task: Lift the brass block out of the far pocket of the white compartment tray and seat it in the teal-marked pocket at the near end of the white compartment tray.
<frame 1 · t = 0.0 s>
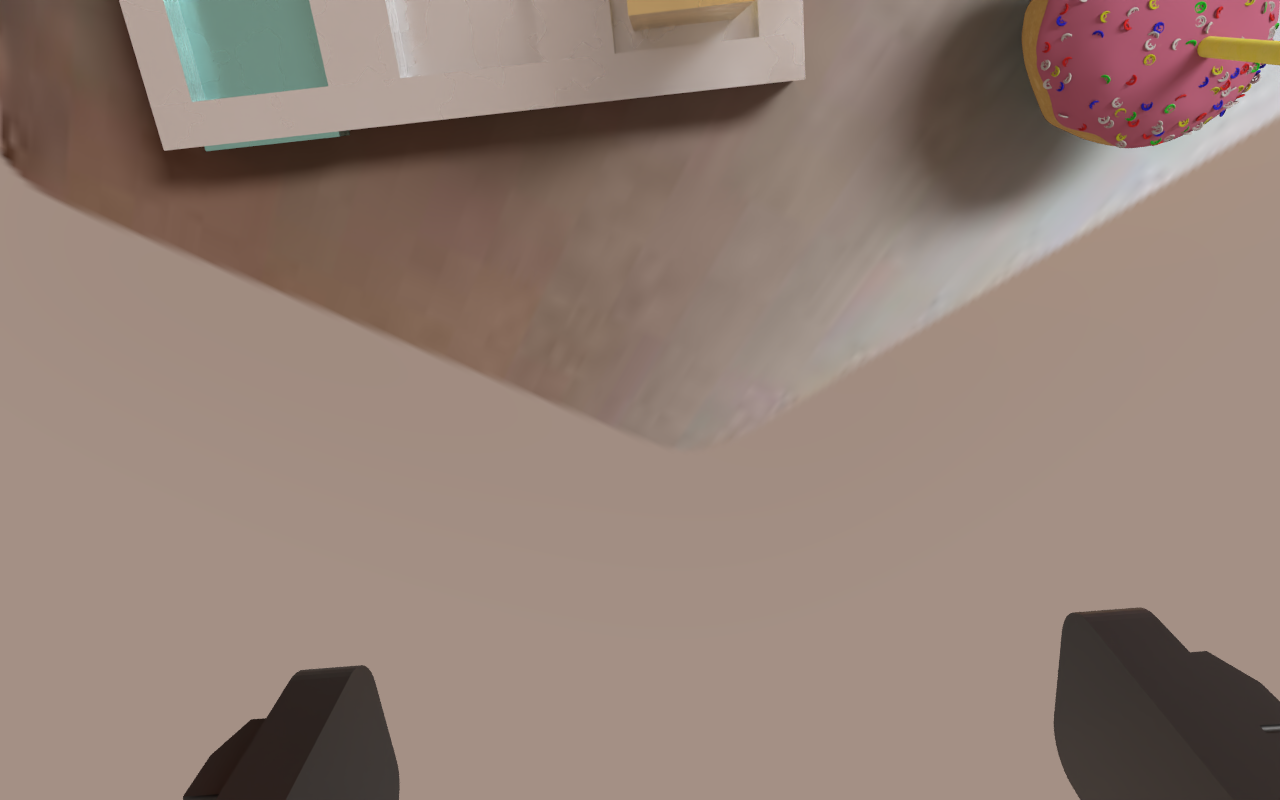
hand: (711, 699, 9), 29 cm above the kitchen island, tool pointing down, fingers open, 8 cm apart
cupcake: (1083, 34, 34), on the kitchen island
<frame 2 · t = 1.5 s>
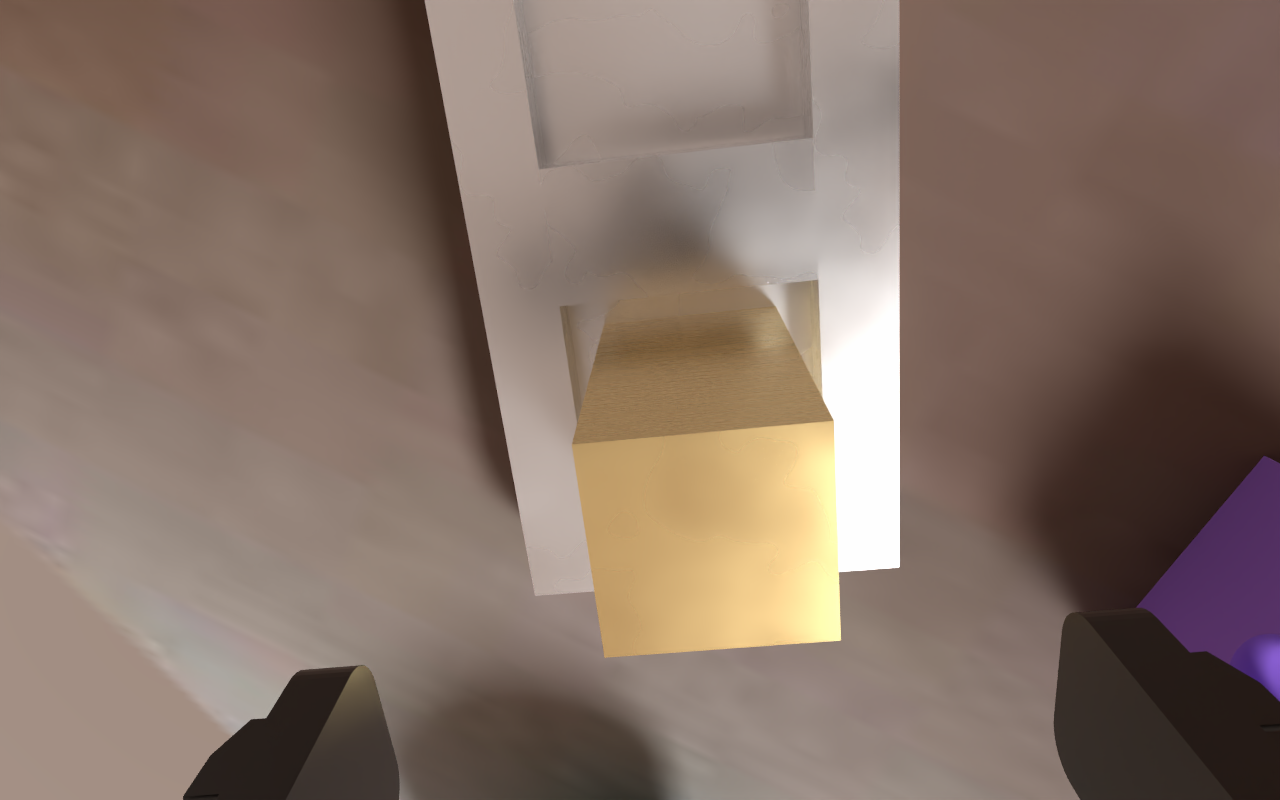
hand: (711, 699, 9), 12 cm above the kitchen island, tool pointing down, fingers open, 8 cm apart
brass block: (696, 394, 20), point 1 cm above the kitchen island, touching white compartment tray
white compartment tray: (661, 14, 18), on the kitchen island
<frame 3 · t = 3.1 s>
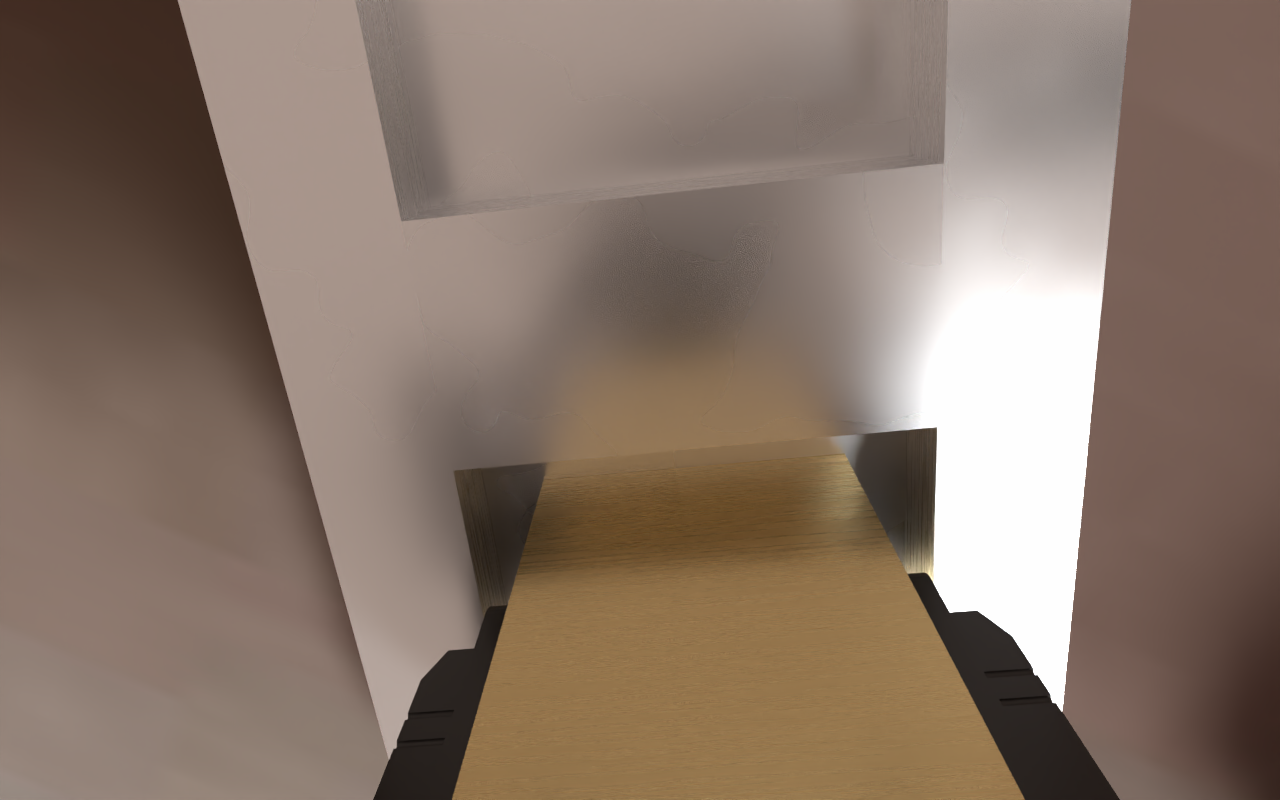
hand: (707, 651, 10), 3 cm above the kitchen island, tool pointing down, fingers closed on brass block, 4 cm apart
brass block: (704, 594, 11), point 2 cm above the kitchen island, touching gripper, white compartment tray
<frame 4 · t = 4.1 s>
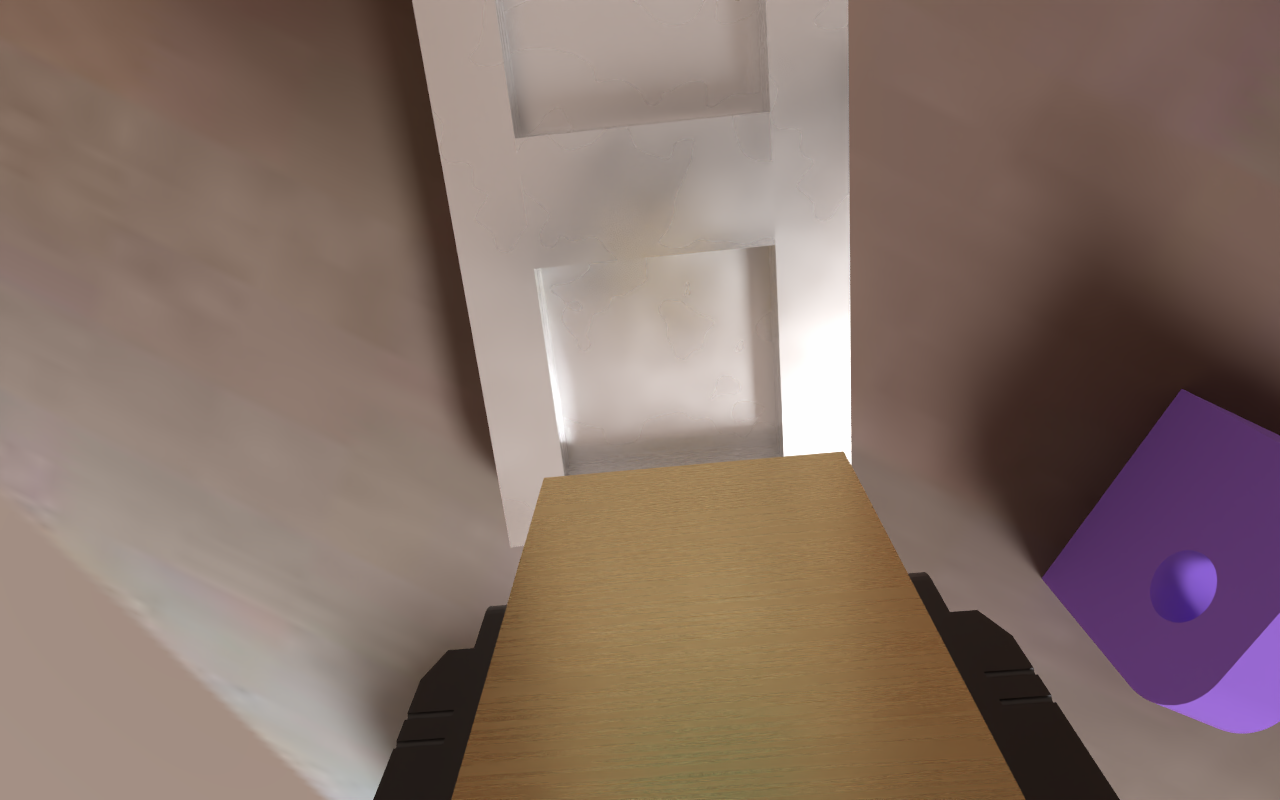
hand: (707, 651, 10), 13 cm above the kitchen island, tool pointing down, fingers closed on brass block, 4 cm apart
brass block: (703, 591, 12), point 12 cm above the kitchen island, touching gripper
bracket: (1257, 551, 25), on the kitchen island
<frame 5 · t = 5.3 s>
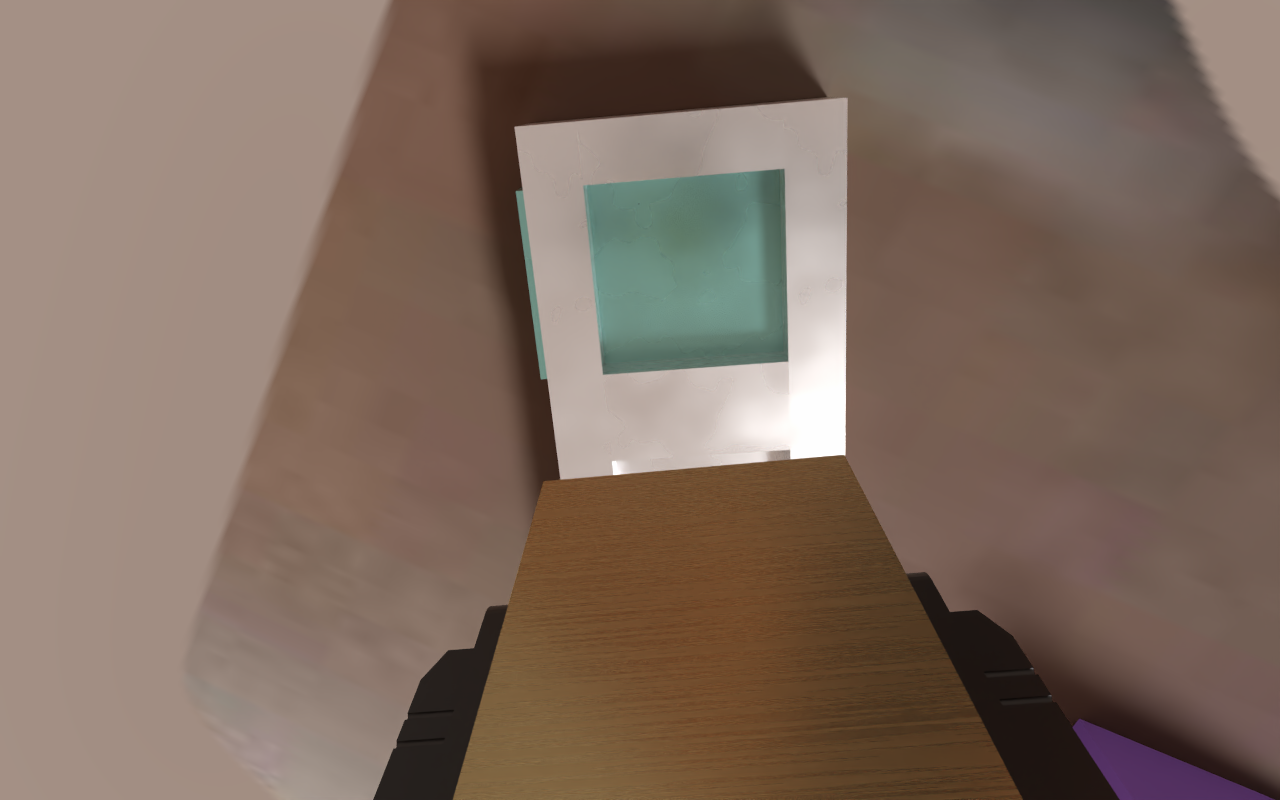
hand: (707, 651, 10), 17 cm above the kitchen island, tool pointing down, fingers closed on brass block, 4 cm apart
brass block: (704, 595, 11), point 16 cm above the kitchen island, touching gripper
white compartment tray: (701, 495, 29), on the kitchen island
when the fingers open (3 cm above the kitchen island, at t = 7.9 s): brass block stays where it is, resting on white compartment tray.
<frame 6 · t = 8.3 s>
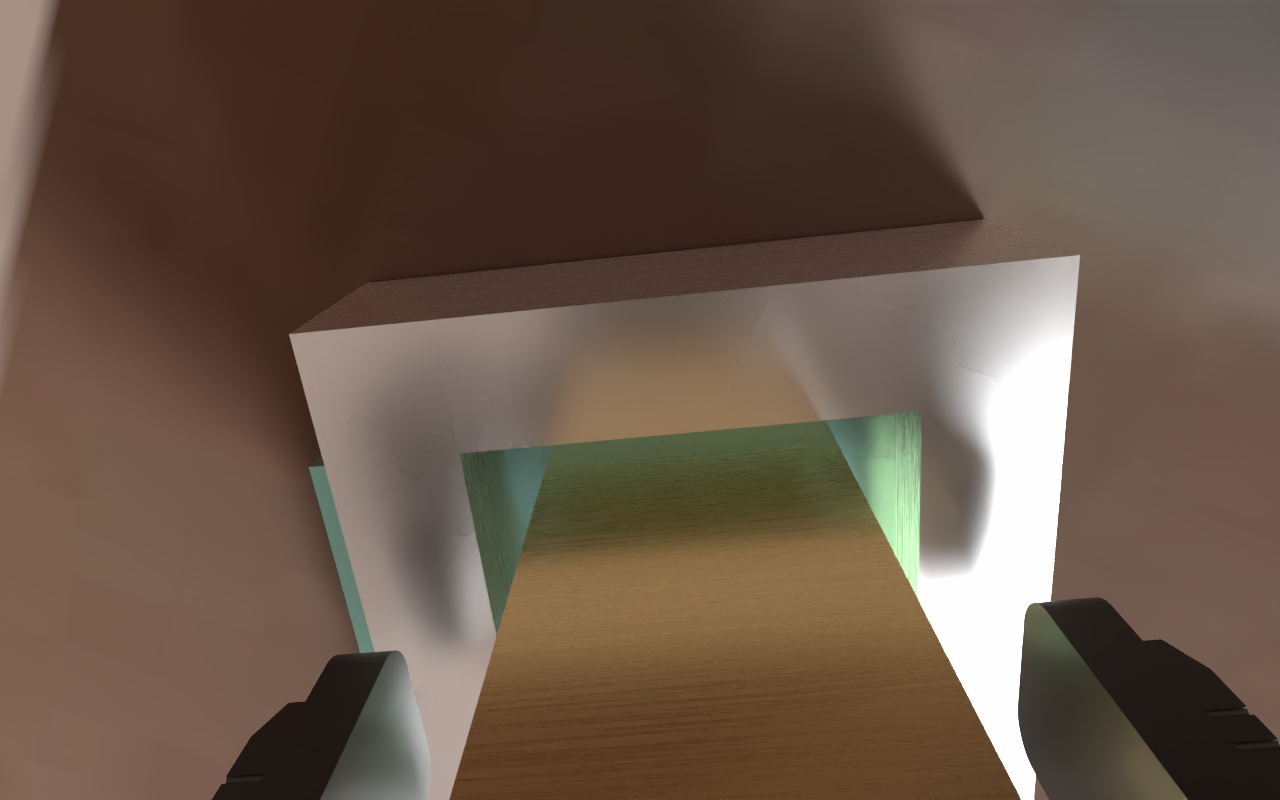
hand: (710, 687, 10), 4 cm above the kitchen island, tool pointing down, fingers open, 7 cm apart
brass block: (701, 579, 12), point 2 cm above the kitchen island, touching white compartment tray
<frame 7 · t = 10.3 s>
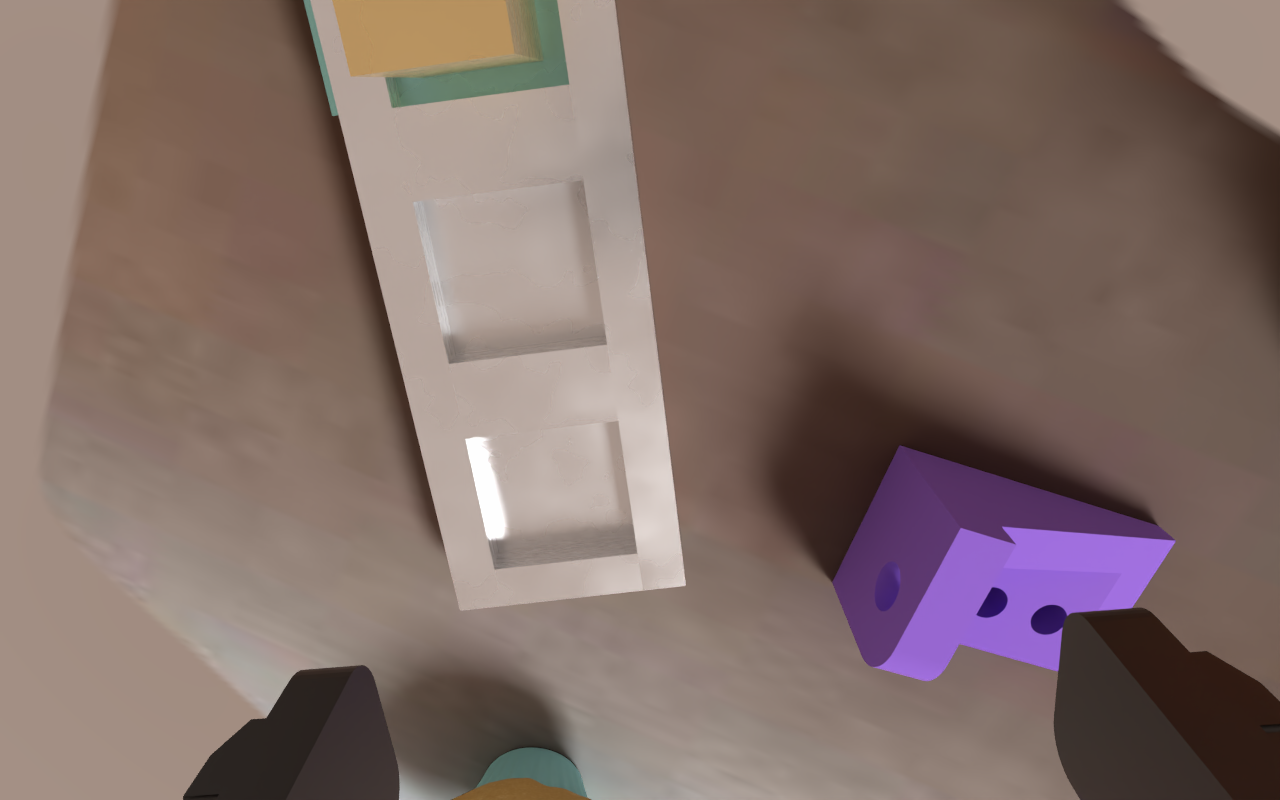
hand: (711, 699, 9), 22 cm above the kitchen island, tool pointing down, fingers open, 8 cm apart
cupcake: (532, 778, 39), on the kitchen island
brass block: (469, 0, 25), point 2 cm above the kitchen island, touching white compartment tray
white compartment tray: (523, 259, 30), on the kitchen island
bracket: (988, 547, 35), on the kitchen island
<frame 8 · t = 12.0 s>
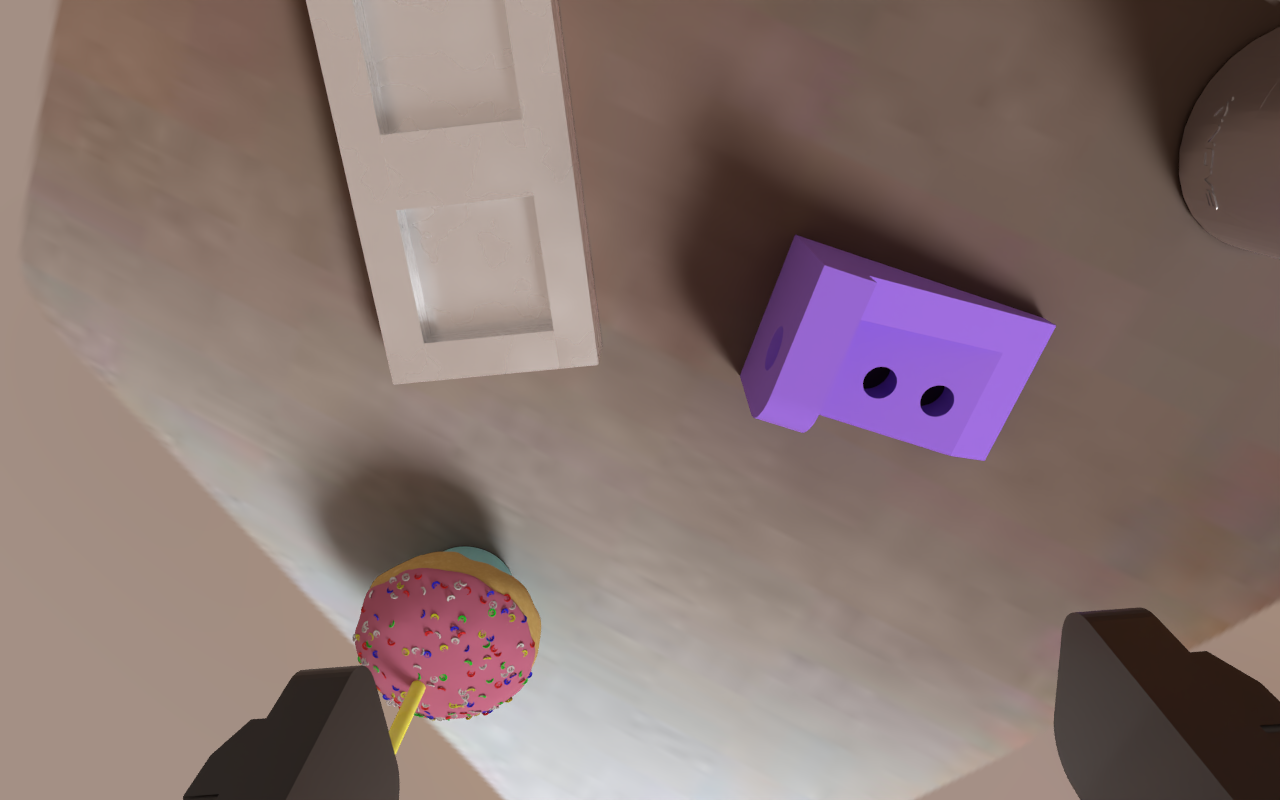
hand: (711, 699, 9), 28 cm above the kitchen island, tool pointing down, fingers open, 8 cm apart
cupcake: (468, 580, 42), on the kitchen island
white compartment tray: (453, 52, 33), on the kitchen island
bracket: (886, 343, 38), on the kitchen island
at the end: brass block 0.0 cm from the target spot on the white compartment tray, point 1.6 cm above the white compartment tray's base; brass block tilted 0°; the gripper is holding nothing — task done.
